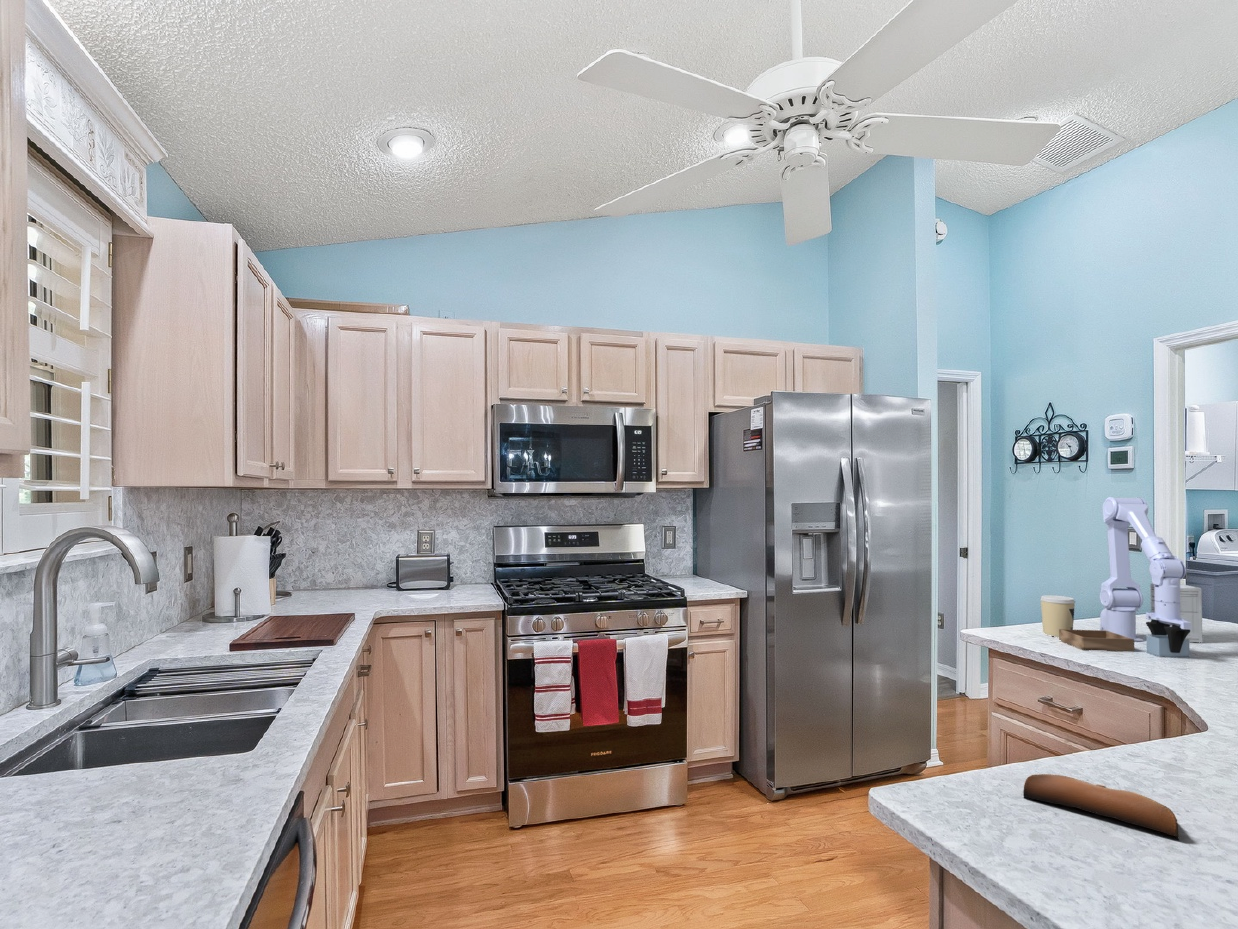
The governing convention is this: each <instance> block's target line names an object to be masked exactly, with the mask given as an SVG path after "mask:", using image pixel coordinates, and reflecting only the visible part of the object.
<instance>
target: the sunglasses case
mask: <svg viewBox="0 0 1238 929" xmlns="http://www.w3.org/2000/svg"><path fill="white" fill-rule="evenodd" d="M1022 793H1023V799H1027V798H1028V799H1030V800H1036V801H1040V802H1046V803H1050V804H1054V805H1061V806H1064V807H1071V808H1078V809H1079V810H1083V811H1086V812H1090V813H1092V814H1096V815H1098V816H1104V817H1108V818H1112V819H1116V820H1119V821H1121V822H1125V823H1128V824H1131V825H1135V826H1139V827H1144V828H1147V829H1150V830H1153V831H1158V832H1161V833H1164V834H1166V835H1169V836H1174V837H1175V839H1176V840H1178V841H1180V839H1179V825H1178V824H1179V823H1178V819H1177V817H1176V815H1175V813H1174V812H1173V811H1172V810H1171V809H1170V808H1169V807H1167V805H1165V804H1162V803H1160V802H1158V801H1156V800H1154V799H1152V798H1149V797H1147V796H1145V795H1142V794H1139V793H1136V792H1133V791H1129V790H1124V789H1116V788H1109V787H1106V785H1104V784H1103V785H1102V784H1098V783H1097V784H1093V783H1090V782H1087V781H1084V780H1081V779H1078V778H1075V777H1070V776H1066V775H1060V774H1049V773H1047V774H1046V773H1042V774H1041V773H1040V774H1038V773H1037V774H1032V775H1029V776H1028V777H1027V778H1026V779H1025V781H1024V785H1023V791H1022Z"/></svg>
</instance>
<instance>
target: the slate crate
mask: <svg viewBox="0 0 1238 929" xmlns="http://www.w3.org/2000/svg"><path fill="white" fill-rule="evenodd" d="M1190 647H1191V645H1190V643H1189V639H1185V640H1184V642H1183V645H1182V648H1181V651H1180V653H1172V652H1170V648H1169V640H1168V636H1166V635H1151V634H1146V653H1147V654H1149V653H1150V655H1152V654H1153V656H1155V657H1158V656H1166V657H1165V658H1176V657H1190V655H1191V654H1190Z"/></svg>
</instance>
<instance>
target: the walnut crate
mask: <svg viewBox="0 0 1238 929" xmlns="http://www.w3.org/2000/svg"><path fill="white" fill-rule="evenodd" d="M1058 640H1061V641H1062V643H1064V644H1066V643H1067V645H1069V644H1071V645H1073V646H1072V647H1074V646H1075V647H1074V648H1076V647H1077V649H1079V650H1082V651H1089V650H1107V651H1106V652H1123V651H1134V652H1135V641H1134V639H1131V638H1128V637H1125V636H1122V635H1119V634H1116V633H1113V632H1110V631H1104V630H1100V629H1099V630H1096V629H1093V630H1092V629H1073V630H1068V629H1059V638H1058ZM1061 641H1060V642H1061ZM1071 645H1070V646H1071Z"/></svg>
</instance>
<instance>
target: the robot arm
mask: <svg viewBox="0 0 1238 929" xmlns="http://www.w3.org/2000/svg"><path fill="white" fill-rule="evenodd" d="M1148 513H1149V506H1148V503H1147V501H1146V499H1145V498H1144V497H1113V496H1109V497H1107V498H1106V499H1105V500H1104V502H1103V503H1102V519H1103V523H1104V524H1106V529H1107V530H1106V532H1107V543H1108V544H1107V546H1108V547H1107V548H1108V560H1109V575H1110V576H1109V578H1108V579H1106V580H1105V581H1103V582H1101V584H1100V585H1101V586H1100V587H1101V588H1100V592H1099V601H1100V603H1101V605H1102V606H1103V607H1104V608H1103V609H1102V610H1101V612H1100V615H1099V619H1100V620H1099V623H1100V625H1099V628H1100V629H1099V630H1104V631H1110V632H1113V633H1116V634H1119V635H1122V636H1125V637H1128V638H1131V639H1134V642H1144V640H1143V639H1142V638H1139V637H1137V634H1136V633H1137V632H1136V631H1137V627H1136V626H1137V624H1136V623H1137V622H1136V621H1137V617H1136V612H1139V609H1140V608H1142V605H1144V604H1143V603H1144V596H1143V594H1142V591H1141V585H1140V584H1139V583H1138V582H1136V581H1135V580H1133V579H1132V576H1131V574H1132V573H1131V564H1130V563H1131V562H1130V561H1131V560H1130V550H1129V549H1130V548H1129V537H1128V536H1129V534H1128V528H1129V527H1130V525H1131V527H1132V528H1133V529H1134V531H1135V532H1136V534H1137V535H1138V536H1139V538H1140V539H1141V544H1140V548H1141V549H1142V551H1143V554H1144V555H1145V556H1146V558H1147V560H1148V562H1149V564H1150V565H1149V567H1148V572H1149V574H1150V576H1151V582H1152V583H1153V584H1154V592H1155V613H1151V611H1150V612H1149V611H1148V612H1147V611H1146V612H1145V619H1146V620H1148V621H1146V622H1145V624H1146V627H1147V628H1148V629H1149V631H1150V633H1152V635H1166V636H1168V640H1169V648H1170V652H1172V653H1180V651H1181V648H1182V645H1183V642H1184V640H1185V638H1186V636H1187V635H1188V634H1189V633H1190V630H1191V622H1187V621H1185V620H1183V619H1181V606H1180V584H1181V580H1183V579H1184V578H1185V576H1186V573H1187V570H1186V564H1185V563H1184V561H1183V560H1182V559H1180V558H1178V557H1177V556H1175V555H1173V553H1172V552H1171V550H1170V548H1169V546H1168V545H1167V543H1166V541H1165V540H1164V539H1163V537H1159V536H1157V534H1156V533H1155V530H1154V528H1153V526H1152V524H1151V521H1150V519H1149V518H1148ZM1117 587H1119V588H1117ZM1170 625H1172V627H1170Z"/></svg>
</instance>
